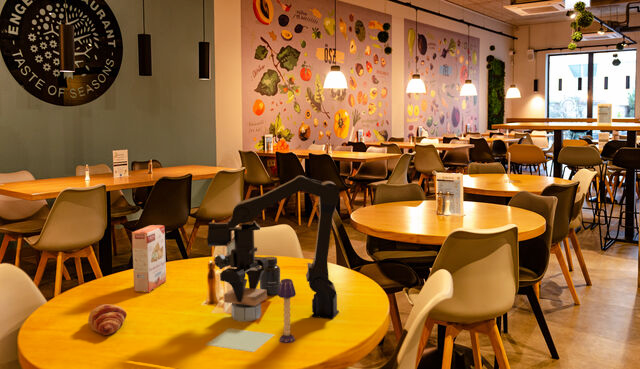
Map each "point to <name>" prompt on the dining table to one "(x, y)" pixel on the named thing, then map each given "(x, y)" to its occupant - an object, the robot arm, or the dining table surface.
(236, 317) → the bowl
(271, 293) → the supplement bottle
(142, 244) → the cracker box
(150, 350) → the dining table surface
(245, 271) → the robot arm
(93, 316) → the croissant
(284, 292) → the toy lamp
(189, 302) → the dining table surface
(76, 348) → the dining table surface
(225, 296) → the brown flat block
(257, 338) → the mat
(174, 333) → the dining table surface
